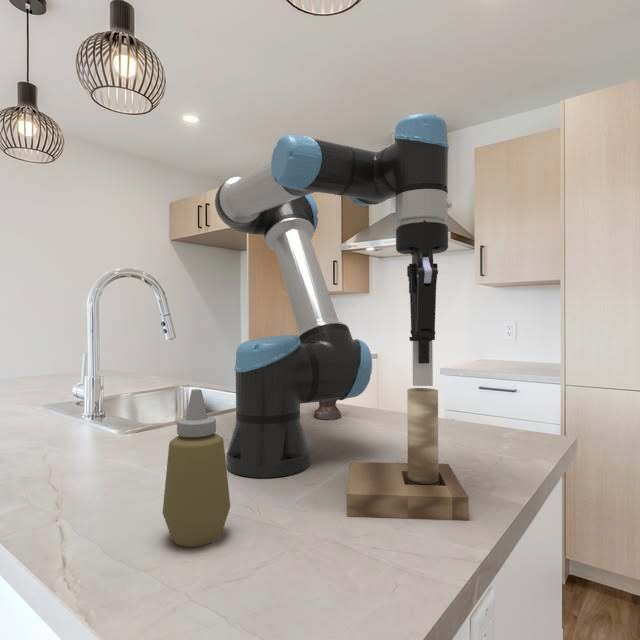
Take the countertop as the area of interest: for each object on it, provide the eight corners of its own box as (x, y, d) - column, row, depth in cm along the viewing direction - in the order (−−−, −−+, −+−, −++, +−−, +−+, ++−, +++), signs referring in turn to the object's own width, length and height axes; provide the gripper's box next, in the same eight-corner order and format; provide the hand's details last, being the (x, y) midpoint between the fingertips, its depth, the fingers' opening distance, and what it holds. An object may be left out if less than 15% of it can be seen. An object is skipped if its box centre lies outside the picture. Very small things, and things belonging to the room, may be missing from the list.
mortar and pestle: (296, 415, 126) (296, 343, 126) (317, 411, 132) (317, 341, 132) (329, 422, 118) (328, 344, 118) (349, 416, 125) (349, 343, 125)
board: (346, 516, 62) (346, 493, 62) (349, 479, 76) (349, 461, 76) (468, 520, 60) (468, 497, 60) (448, 482, 74) (448, 463, 74)
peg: (409, 504, 66) (408, 392, 66) (406, 492, 70) (405, 387, 70) (441, 505, 65) (440, 392, 65) (436, 493, 70) (435, 388, 70)
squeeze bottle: (235, 521, 60) (234, 384, 60) (224, 552, 52) (223, 395, 52) (173, 522, 60) (172, 385, 60) (153, 554, 52) (152, 395, 52)
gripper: (456, 214, 61) (457, 392, 61) (440, 232, 74) (440, 379, 74) (399, 215, 61) (400, 392, 62) (392, 233, 74) (393, 379, 75)
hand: (422, 385), depth 68 cm, fingers closed
